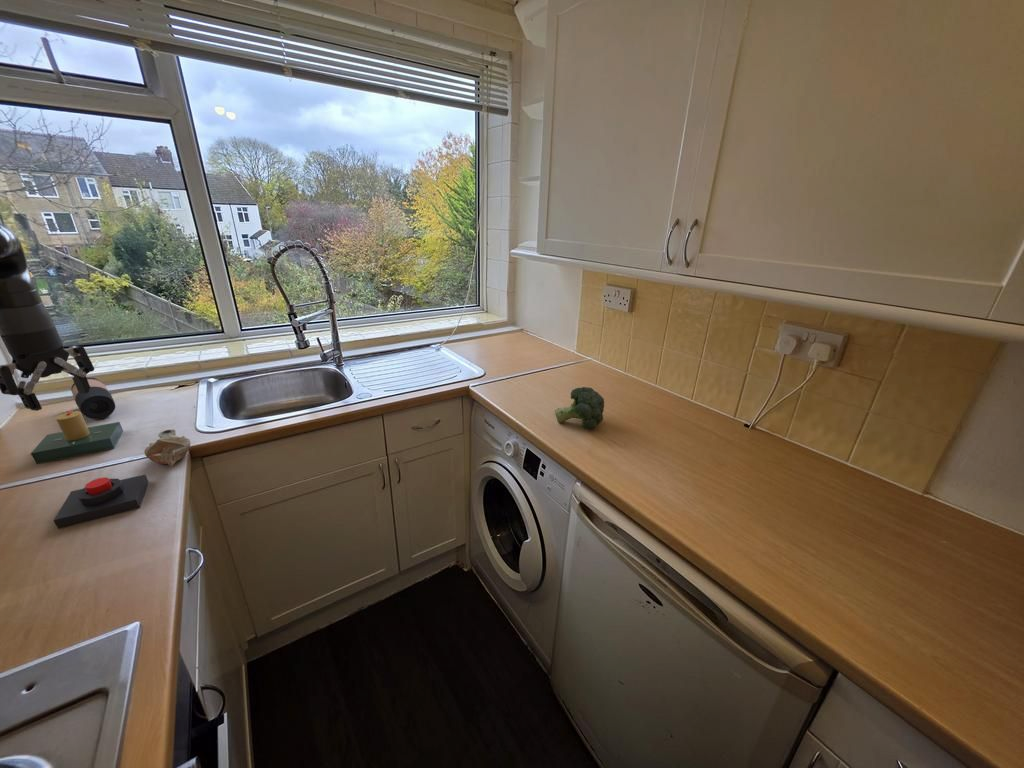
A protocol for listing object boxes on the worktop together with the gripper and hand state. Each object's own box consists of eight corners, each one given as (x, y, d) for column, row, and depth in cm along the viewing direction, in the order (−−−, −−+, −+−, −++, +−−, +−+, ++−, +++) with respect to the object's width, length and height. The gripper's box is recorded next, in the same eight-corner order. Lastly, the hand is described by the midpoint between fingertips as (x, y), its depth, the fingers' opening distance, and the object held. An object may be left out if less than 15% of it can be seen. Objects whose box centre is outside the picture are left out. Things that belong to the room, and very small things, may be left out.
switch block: (58, 529, 77) (48, 512, 75) (75, 499, 85) (67, 484, 83) (139, 508, 83) (133, 492, 81) (148, 482, 91) (142, 467, 89)
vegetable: (557, 402, 127) (603, 386, 122) (567, 441, 122) (615, 426, 118) (544, 392, 117) (593, 375, 112) (554, 435, 112) (606, 418, 107)
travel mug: (80, 422, 114) (72, 402, 125) (118, 417, 119) (107, 398, 131) (76, 396, 112) (68, 378, 124) (115, 392, 117) (104, 375, 129)
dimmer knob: (87, 437, 102) (77, 415, 99) (63, 442, 100) (52, 419, 97) (92, 430, 105) (82, 408, 103) (68, 434, 103) (57, 412, 100)
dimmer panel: (36, 464, 96) (30, 452, 95) (51, 444, 104) (46, 434, 103) (114, 448, 103) (109, 437, 102) (123, 431, 111) (119, 421, 110)
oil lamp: (148, 484, 90) (132, 446, 86) (149, 444, 105) (136, 410, 101) (196, 470, 95) (183, 433, 91) (190, 434, 110) (179, 401, 106)
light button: (85, 497, 80) (82, 490, 79) (91, 487, 83) (87, 480, 82) (110, 491, 82) (106, 484, 81) (114, 482, 85) (111, 475, 84)
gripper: (56, 318, 88) (85, 386, 94) (-39, 336, 75) (4, 414, 81) (83, 320, 86) (111, 389, 93) (-8, 338, 73) (32, 418, 80)
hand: (61, 401), depth 87 cm, fingers open, 8 cm apart
